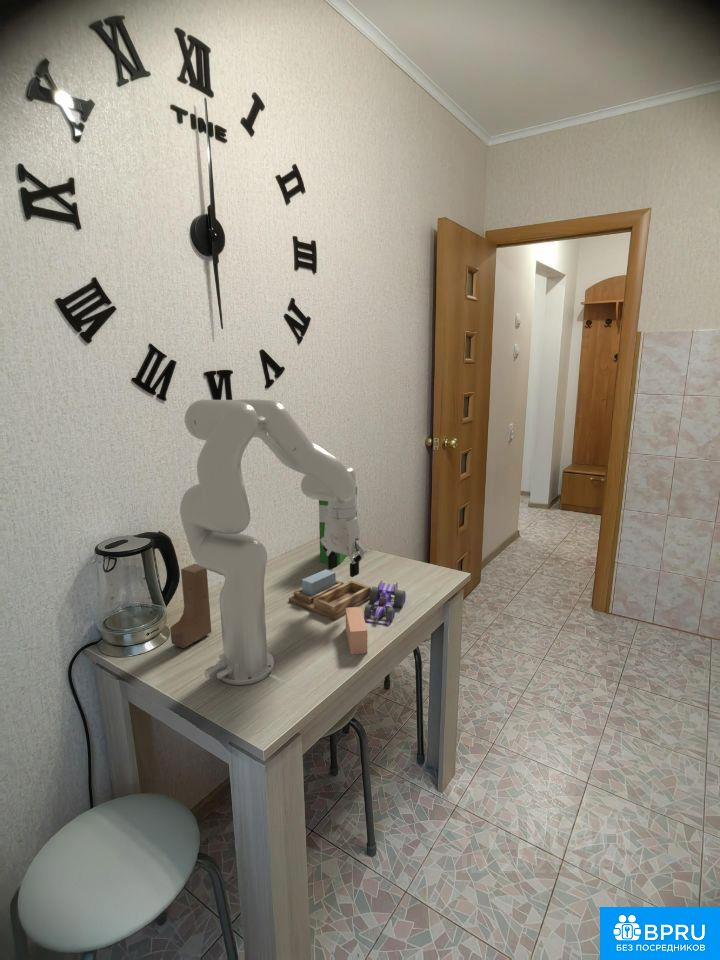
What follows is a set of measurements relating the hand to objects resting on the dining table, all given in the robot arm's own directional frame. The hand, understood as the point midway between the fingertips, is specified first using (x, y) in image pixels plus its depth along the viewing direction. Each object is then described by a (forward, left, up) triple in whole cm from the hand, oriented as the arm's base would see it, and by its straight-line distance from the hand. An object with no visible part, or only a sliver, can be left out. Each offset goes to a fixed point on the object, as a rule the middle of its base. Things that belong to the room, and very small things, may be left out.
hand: (343, 571), depth 138 cm
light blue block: (0, +9, -9) cm, 13 cm away
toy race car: (+3, -12, -11) cm, 16 cm away
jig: (0, +4, -10) cm, 11 cm away
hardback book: (+27, +26, -10) cm, 39 cm away
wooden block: (-38, +17, -10) cm, 43 cm away
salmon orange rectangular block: (-13, -15, -10) cm, 22 cm away
